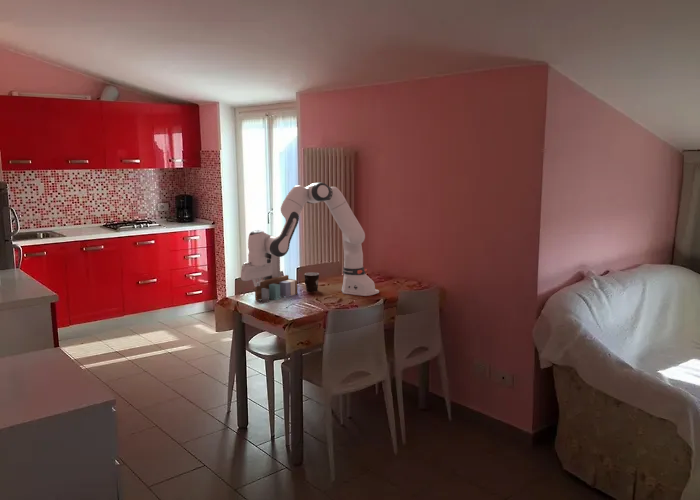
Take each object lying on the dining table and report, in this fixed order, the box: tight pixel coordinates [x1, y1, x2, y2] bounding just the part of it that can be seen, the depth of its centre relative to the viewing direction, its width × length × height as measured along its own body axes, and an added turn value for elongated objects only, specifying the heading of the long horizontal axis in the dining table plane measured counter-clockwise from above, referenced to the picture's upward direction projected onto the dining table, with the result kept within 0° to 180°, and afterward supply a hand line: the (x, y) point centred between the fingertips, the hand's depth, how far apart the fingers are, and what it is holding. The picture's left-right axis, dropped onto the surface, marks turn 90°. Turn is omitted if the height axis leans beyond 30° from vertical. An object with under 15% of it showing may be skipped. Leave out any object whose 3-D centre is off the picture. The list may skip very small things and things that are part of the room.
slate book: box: [279, 281, 291, 298], centre depth 336 cm, size 5×4×8 cm
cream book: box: [286, 279, 296, 297], centre depth 339 cm, size 5×4×8 cm
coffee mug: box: [304, 272, 320, 293], centre depth 347 cm, size 12×9×10 cm
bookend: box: [255, 288, 270, 304], centre depth 322 cm, size 5×5×7 cm
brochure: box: [262, 253, 281, 281], centre depth 343 cm, size 14×6×30 cm, turn 168°
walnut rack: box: [254, 274, 299, 301], centre depth 333 cm, size 8×25×10 cm, turn 142°
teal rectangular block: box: [269, 283, 281, 301], centre depth 330 cm, size 5×4×8 cm
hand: (257, 286), depth 319 cm, fingers closed
